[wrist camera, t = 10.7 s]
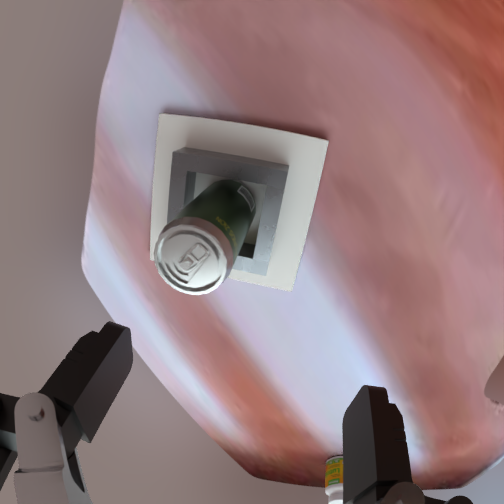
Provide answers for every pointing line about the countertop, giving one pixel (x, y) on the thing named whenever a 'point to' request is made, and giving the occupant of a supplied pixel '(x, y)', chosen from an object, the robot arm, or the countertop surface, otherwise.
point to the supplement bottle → (334, 480)
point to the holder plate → (253, 146)
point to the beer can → (205, 238)
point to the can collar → (240, 169)
